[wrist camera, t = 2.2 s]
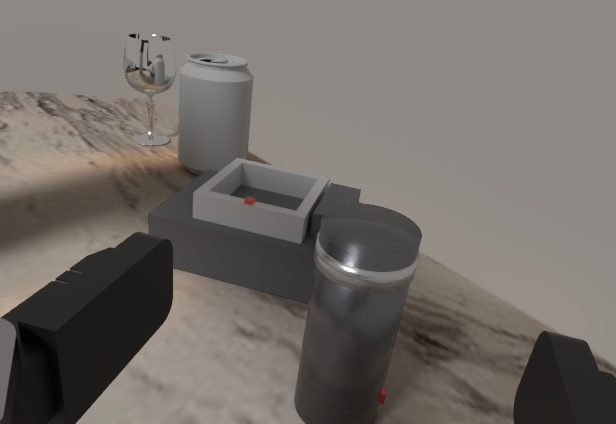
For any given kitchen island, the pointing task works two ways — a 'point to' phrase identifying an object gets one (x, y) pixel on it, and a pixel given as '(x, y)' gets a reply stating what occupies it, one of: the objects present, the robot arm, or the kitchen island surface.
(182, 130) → the can
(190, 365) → the kitchen island surface
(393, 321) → the thermos
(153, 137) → the wineglass
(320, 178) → the tray on grey base
